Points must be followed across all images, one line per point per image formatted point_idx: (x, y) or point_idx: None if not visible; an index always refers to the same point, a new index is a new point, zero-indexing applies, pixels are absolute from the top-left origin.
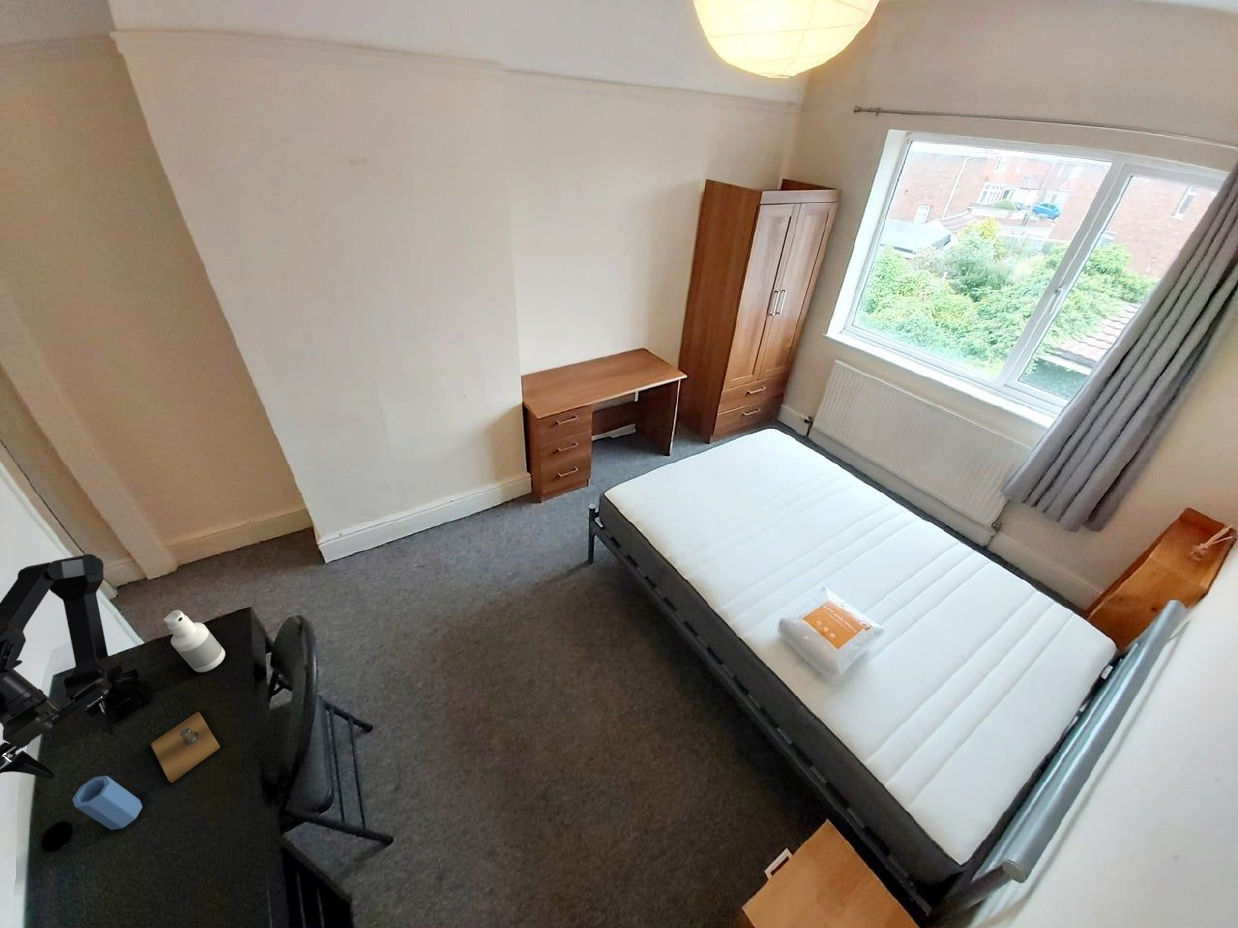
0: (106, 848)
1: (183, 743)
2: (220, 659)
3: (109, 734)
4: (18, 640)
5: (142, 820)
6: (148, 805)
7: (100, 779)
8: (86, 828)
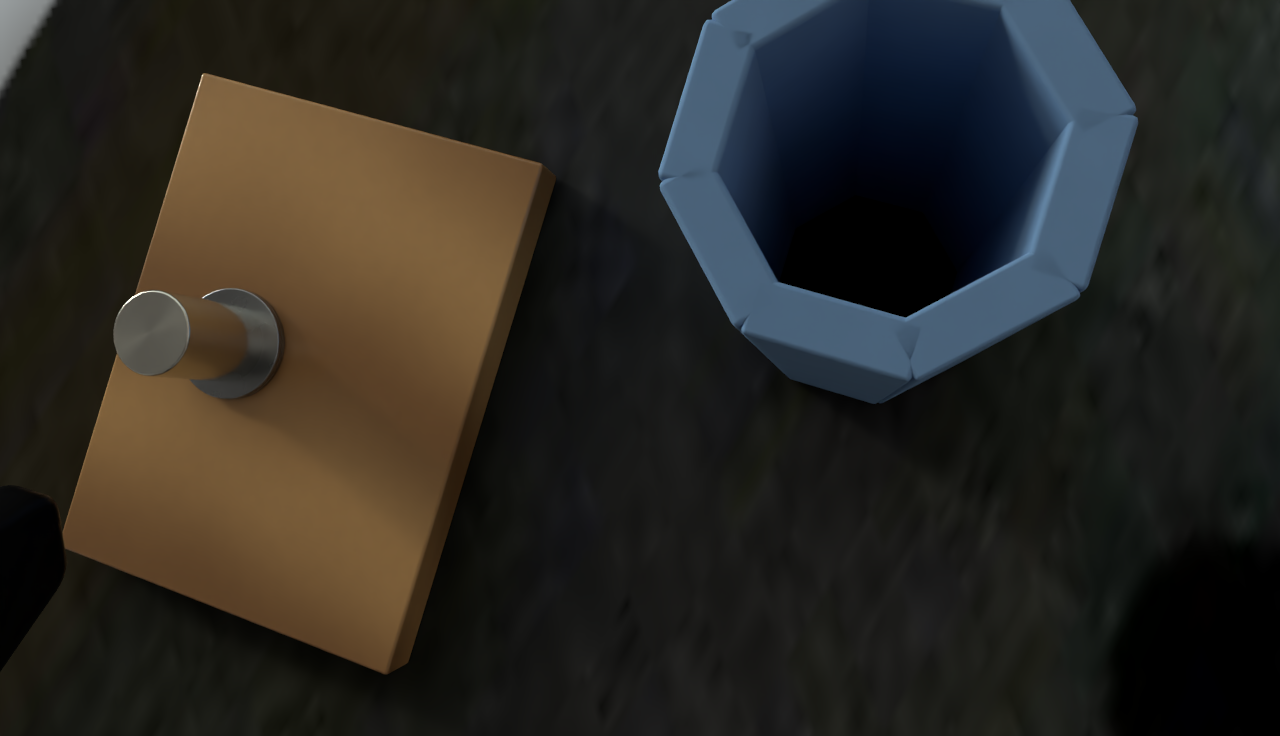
0: None
1: (288, 371)
2: None
3: (39, 508)
4: None
5: None
6: None
7: (728, 201)
8: (1074, 493)
